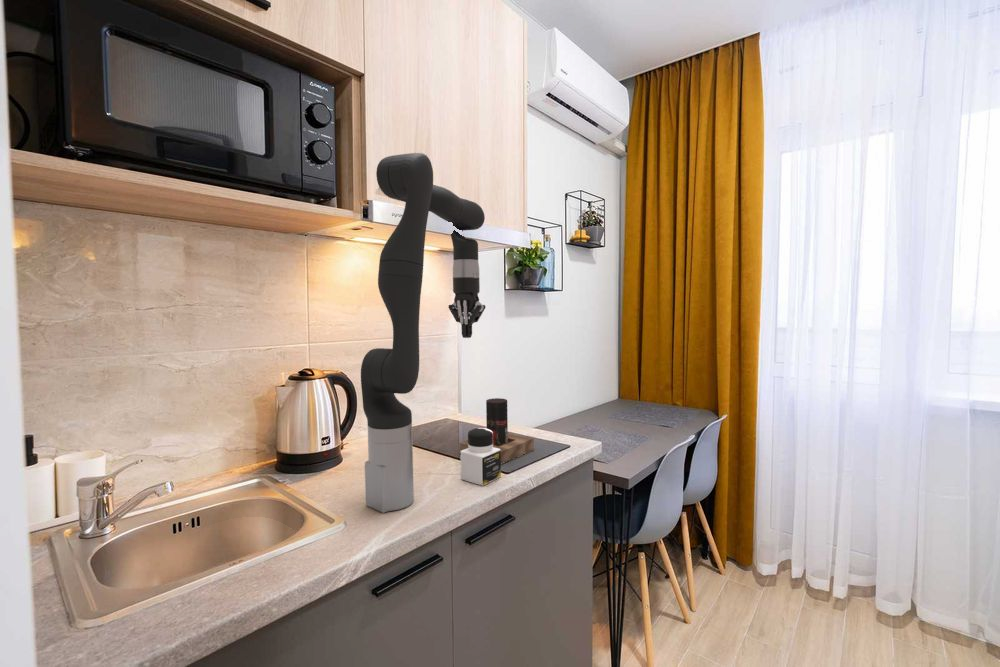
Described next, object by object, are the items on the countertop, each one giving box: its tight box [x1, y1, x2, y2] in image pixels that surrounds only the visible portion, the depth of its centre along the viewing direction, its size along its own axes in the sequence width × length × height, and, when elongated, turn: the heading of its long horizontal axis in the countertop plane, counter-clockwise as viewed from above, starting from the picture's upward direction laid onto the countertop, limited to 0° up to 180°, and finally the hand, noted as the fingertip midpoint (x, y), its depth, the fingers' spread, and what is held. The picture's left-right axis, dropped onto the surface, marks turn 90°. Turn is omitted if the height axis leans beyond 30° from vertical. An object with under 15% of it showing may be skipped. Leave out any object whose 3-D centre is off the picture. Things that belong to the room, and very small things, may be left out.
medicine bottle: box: [460, 427, 502, 486], centre depth 114 cm, size 7×7×12 cm
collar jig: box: [459, 432, 535, 463], centre depth 133 cm, size 16×14×4 cm
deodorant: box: [485, 397, 509, 446], centre depth 133 cm, size 6×6×15 cm
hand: (466, 337), depth 134 cm, fingers closed
